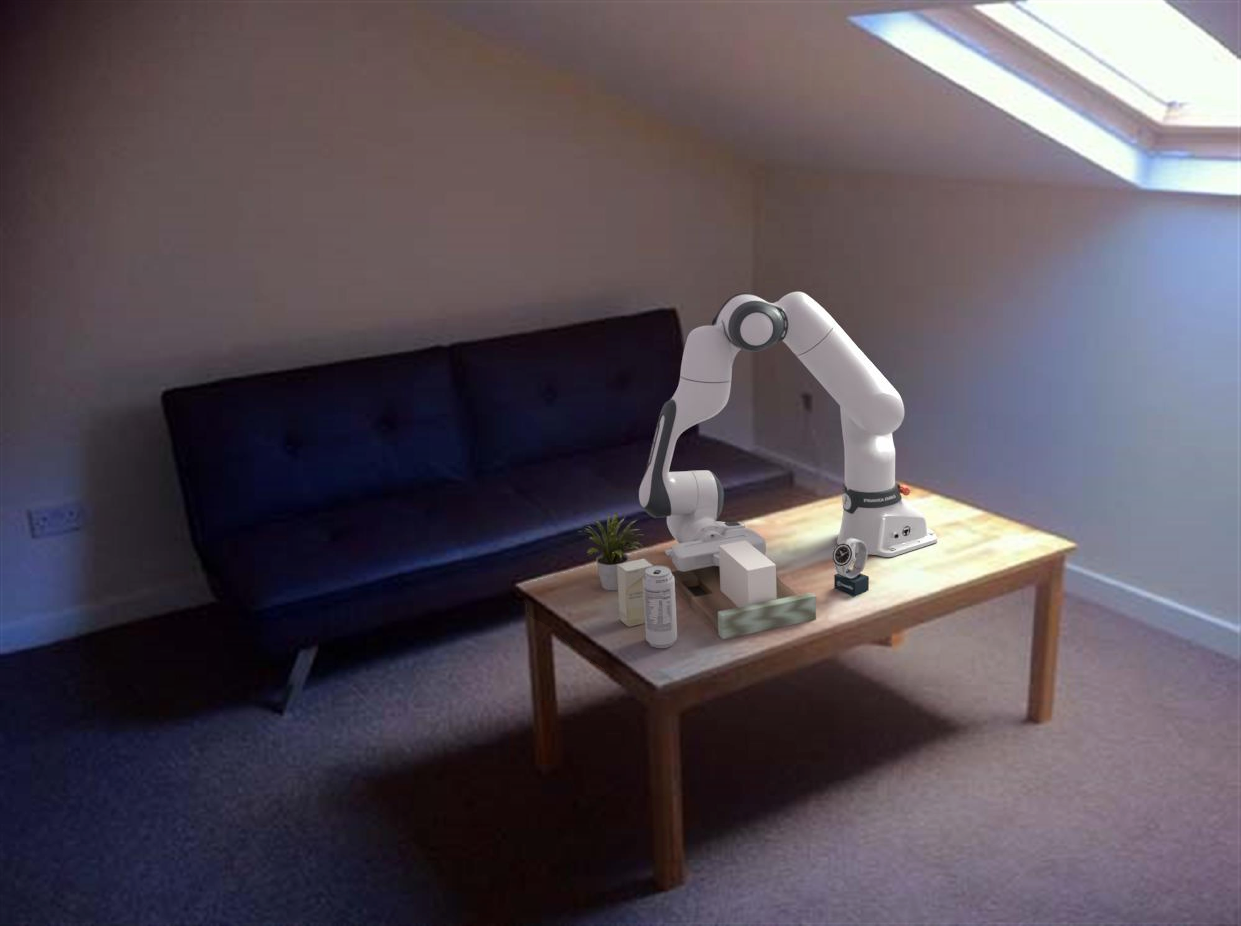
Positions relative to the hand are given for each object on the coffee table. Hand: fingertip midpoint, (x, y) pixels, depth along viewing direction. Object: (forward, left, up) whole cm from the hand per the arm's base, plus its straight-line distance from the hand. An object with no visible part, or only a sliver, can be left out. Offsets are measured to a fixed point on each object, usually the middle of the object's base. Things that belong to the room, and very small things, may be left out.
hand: (733, 564), depth 230 cm
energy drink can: (+21, +13, -7) cm, 26 cm away
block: (0, +7, -5) cm, 9 cm away
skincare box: (+22, +2, -7) cm, 23 cm away
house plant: (+22, -15, -7) cm, 28 cm away
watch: (-23, +8, -7) cm, 25 cm away
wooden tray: (0, +2, -7) cm, 7 cm away
